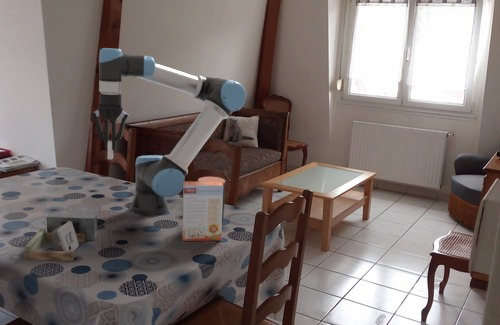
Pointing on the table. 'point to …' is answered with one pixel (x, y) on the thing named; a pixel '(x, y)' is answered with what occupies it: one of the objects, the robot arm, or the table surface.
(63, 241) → the electrical switch
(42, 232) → the bay
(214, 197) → the cracker box
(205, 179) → the coffee jar
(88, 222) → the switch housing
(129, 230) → the table surface
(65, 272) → the table surface
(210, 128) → the robot arm
